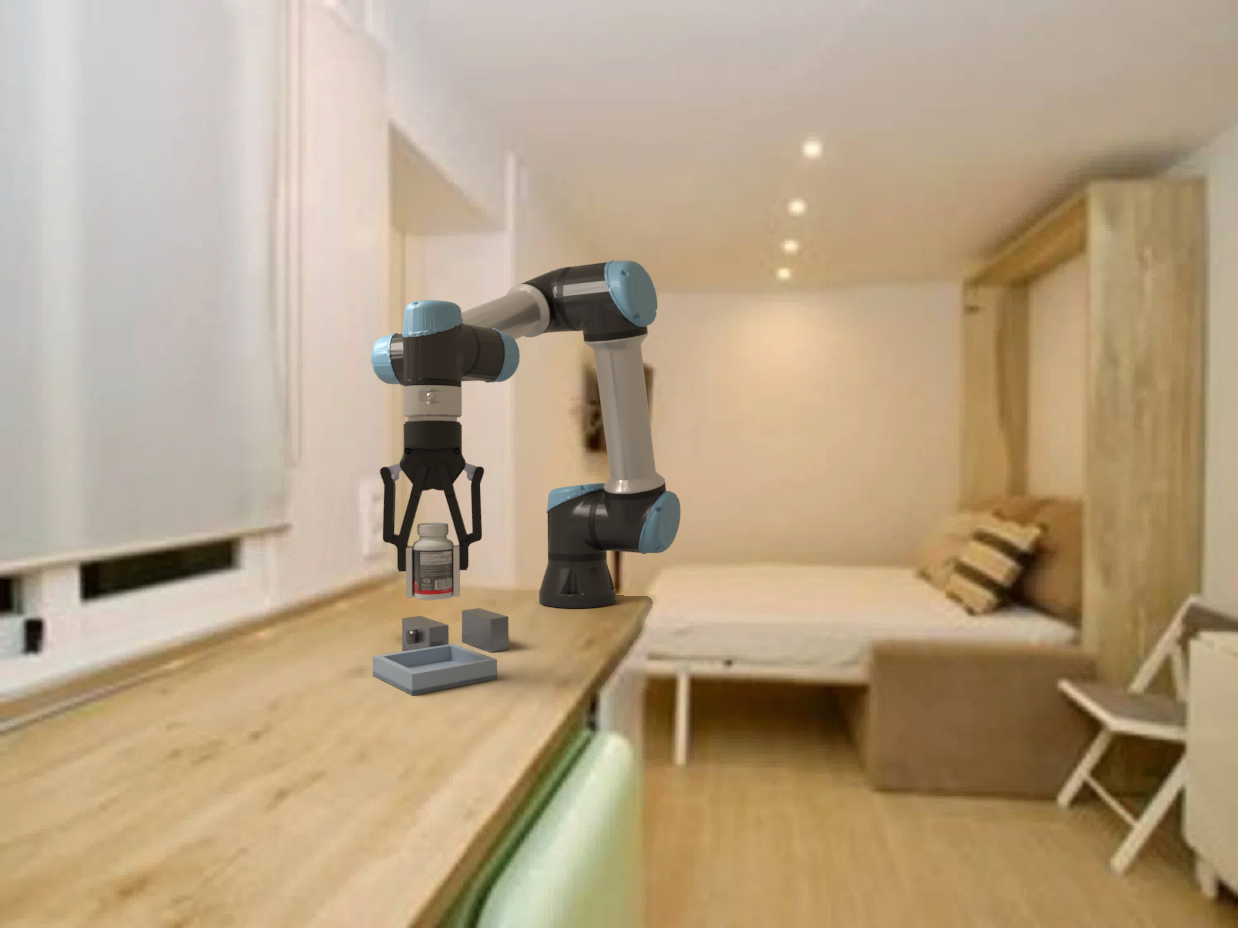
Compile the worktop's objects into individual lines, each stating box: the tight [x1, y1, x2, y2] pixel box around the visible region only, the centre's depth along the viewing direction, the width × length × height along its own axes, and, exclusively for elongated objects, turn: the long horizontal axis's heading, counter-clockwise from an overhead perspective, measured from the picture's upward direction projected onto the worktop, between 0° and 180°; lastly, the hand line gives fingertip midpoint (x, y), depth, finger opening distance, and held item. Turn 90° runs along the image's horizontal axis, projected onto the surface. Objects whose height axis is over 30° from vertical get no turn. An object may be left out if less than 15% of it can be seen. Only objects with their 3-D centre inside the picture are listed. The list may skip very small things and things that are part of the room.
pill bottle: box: [412, 522, 455, 601], centre depth 115 cm, size 5×5×10 cm
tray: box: [372, 643, 498, 696], centre depth 115 cm, size 12×12×3 cm
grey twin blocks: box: [401, 607, 510, 653], centre depth 130 cm, size 15×9×5 cm, turn 129°
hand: (433, 595), depth 115 cm, fingers closed on pill bottle, 5 cm apart
